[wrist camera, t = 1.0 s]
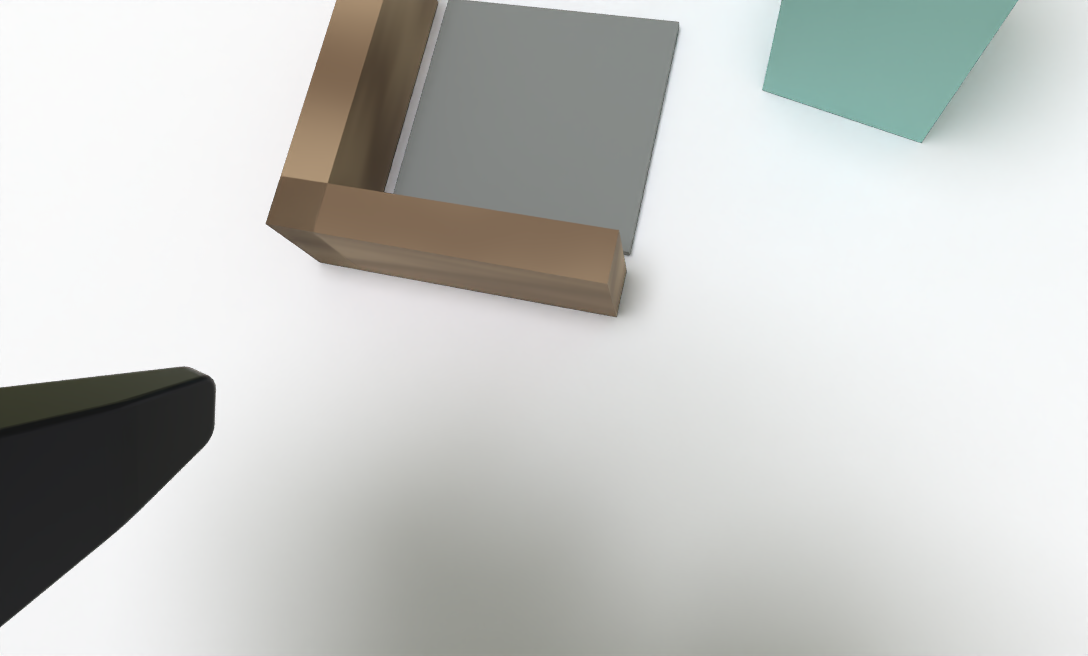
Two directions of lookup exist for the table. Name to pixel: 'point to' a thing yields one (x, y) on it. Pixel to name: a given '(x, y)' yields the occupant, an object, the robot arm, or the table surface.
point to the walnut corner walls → (408, 222)
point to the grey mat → (540, 113)
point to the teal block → (880, 57)
